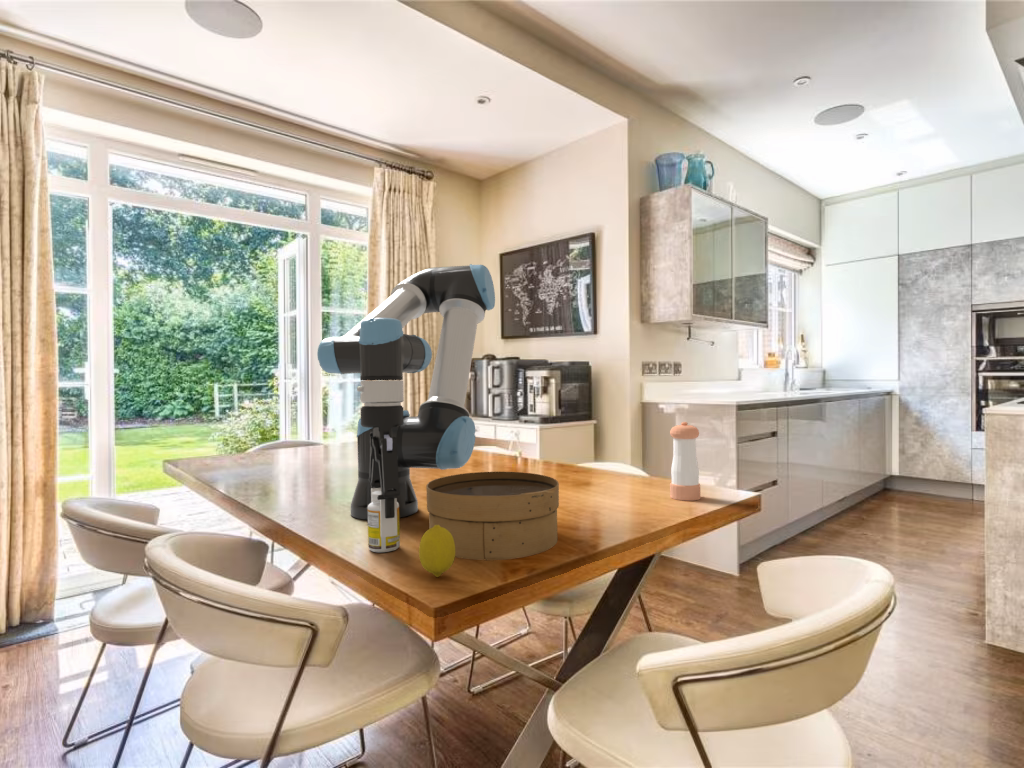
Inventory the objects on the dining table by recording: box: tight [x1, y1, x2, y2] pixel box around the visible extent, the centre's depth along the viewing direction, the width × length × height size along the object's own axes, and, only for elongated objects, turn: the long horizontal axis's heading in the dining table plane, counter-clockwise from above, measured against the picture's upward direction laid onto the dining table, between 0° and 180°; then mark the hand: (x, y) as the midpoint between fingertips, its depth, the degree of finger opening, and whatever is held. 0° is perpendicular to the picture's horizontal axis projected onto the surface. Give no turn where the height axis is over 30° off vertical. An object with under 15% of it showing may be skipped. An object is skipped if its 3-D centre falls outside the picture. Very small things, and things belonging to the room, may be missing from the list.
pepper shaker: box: [669, 421, 701, 501], centre depth 137 cm, size 7×7×19 cm
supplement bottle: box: [367, 490, 401, 554], centre depth 98 cm, size 6×6×10 cm
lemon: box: [418, 525, 456, 578], centre depth 83 cm, size 6×6×8 cm
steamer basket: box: [426, 471, 560, 561], centre depth 103 cm, size 25×25×11 cm
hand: (383, 528), depth 98 cm, fingers open, 9 cm apart
